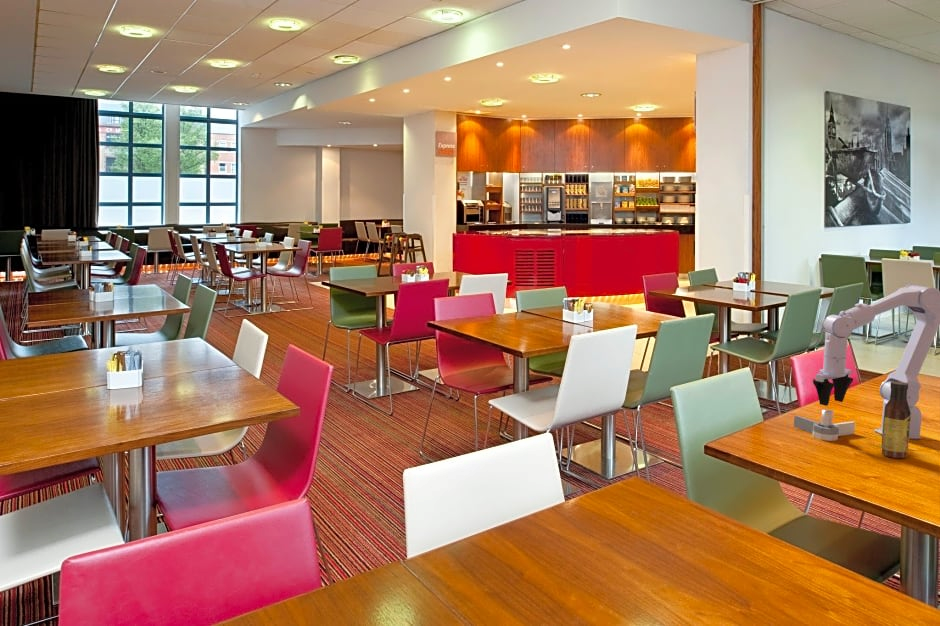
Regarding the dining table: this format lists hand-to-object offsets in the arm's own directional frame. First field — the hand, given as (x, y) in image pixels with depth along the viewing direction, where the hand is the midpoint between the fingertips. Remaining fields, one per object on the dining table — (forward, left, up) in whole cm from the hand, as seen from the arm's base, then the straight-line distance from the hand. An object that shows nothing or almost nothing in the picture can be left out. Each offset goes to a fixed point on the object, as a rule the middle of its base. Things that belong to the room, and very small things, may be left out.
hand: (831, 403), depth 210 cm
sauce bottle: (-8, +18, -10) cm, 22 cm away
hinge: (0, -3, -10) cm, 10 cm away
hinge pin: (+2, +2, -10) cm, 10 cm away
